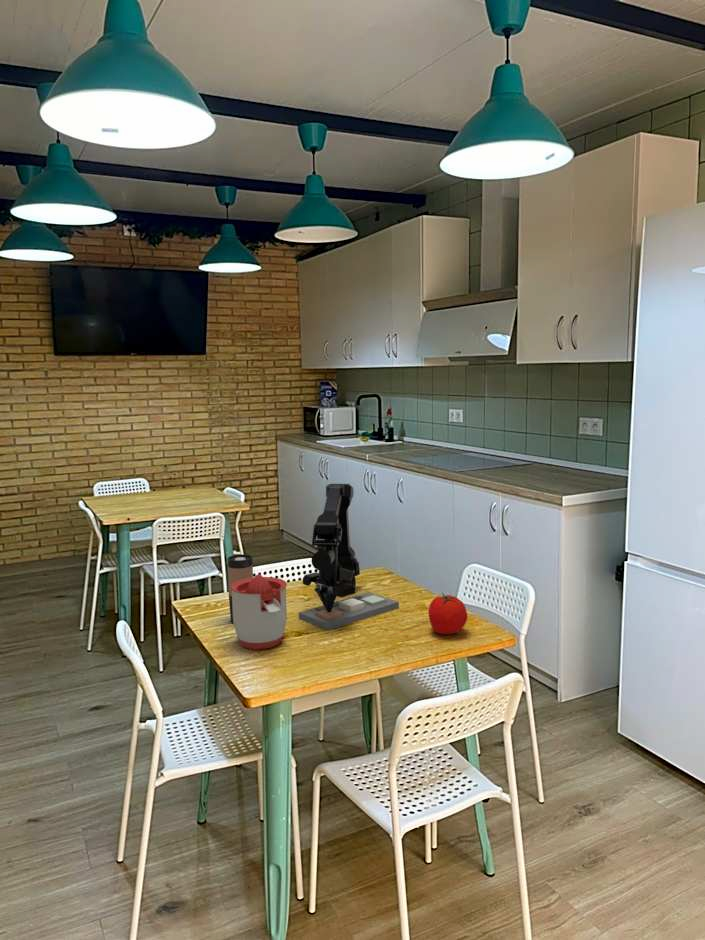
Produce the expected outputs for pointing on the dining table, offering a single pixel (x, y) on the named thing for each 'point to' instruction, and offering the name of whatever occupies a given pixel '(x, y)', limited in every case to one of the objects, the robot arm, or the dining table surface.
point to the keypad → (347, 613)
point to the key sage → (373, 600)
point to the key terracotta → (329, 614)
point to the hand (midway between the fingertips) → (329, 611)
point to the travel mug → (238, 573)
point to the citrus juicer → (259, 611)
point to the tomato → (447, 614)
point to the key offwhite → (351, 605)
